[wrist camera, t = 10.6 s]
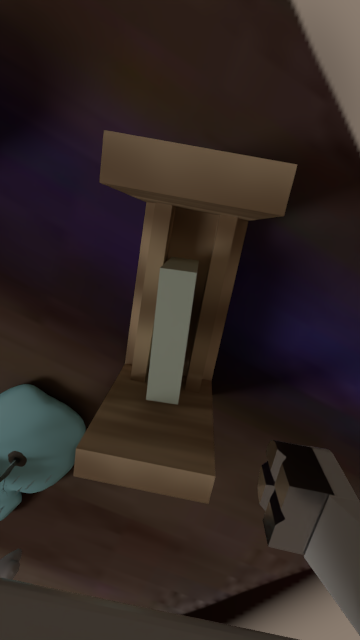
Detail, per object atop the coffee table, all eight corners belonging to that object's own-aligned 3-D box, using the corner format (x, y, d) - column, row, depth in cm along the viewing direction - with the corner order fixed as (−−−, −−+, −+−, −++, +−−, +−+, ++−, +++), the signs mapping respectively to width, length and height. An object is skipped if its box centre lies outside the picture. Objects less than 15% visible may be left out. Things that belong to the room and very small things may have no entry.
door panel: (172, 256, 25) (160, 267, 18) (199, 260, 25) (196, 272, 18) (160, 357, 28) (146, 399, 21) (184, 361, 28) (177, 404, 21)
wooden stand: (152, 175, 24) (104, 130, 13) (253, 194, 24) (297, 164, 12) (124, 379, 29) (73, 476, 18) (206, 395, 29) (208, 503, 18)
